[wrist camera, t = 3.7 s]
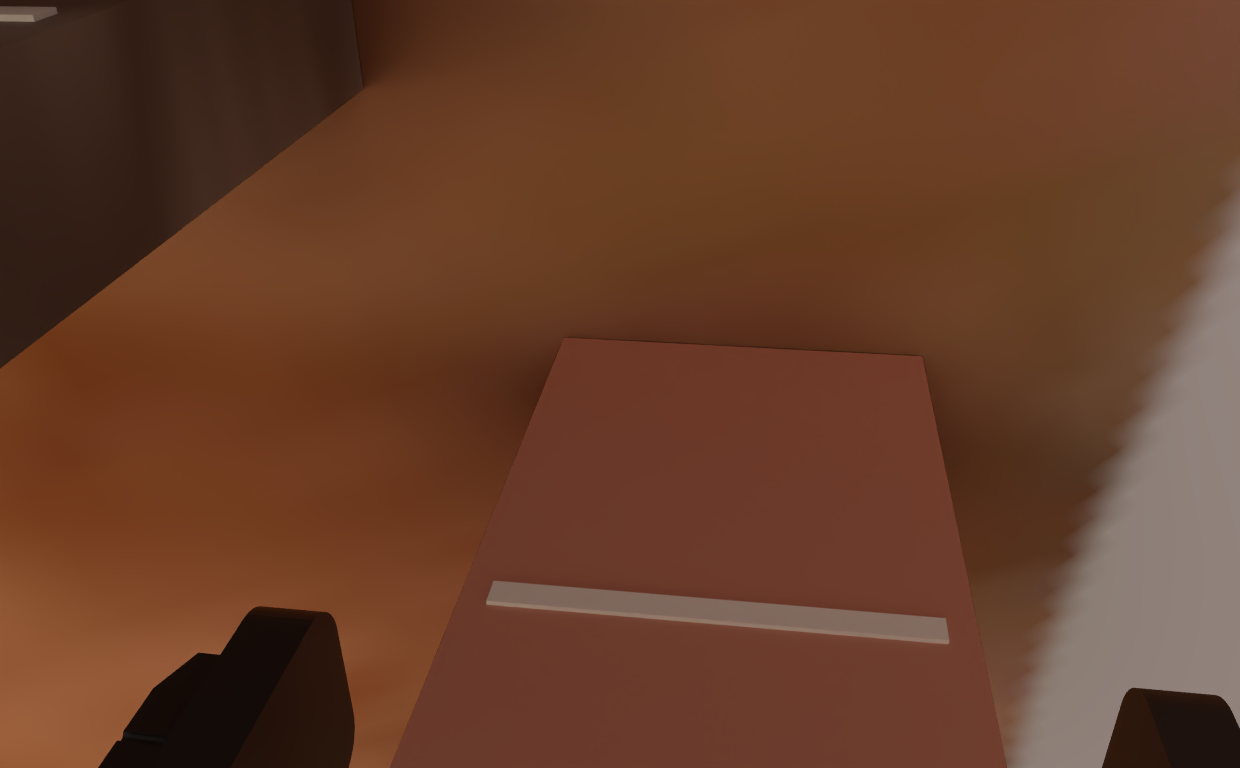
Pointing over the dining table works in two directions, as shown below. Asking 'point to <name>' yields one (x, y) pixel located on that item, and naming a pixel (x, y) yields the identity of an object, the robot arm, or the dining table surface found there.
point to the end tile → (716, 575)
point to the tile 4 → (143, 129)
